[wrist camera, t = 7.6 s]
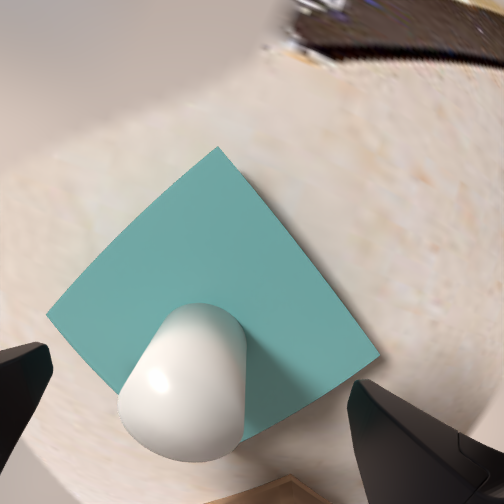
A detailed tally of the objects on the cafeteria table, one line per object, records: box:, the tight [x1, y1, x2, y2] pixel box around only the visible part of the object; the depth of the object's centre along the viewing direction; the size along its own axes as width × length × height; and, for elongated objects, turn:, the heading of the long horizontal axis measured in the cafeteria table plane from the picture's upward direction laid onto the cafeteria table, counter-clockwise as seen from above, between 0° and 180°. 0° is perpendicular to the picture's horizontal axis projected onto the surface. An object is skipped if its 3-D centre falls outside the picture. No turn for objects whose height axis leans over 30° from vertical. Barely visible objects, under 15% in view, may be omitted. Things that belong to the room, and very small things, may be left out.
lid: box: [46, 146, 380, 462], centre depth 9 cm, size 9×9×6 cm
